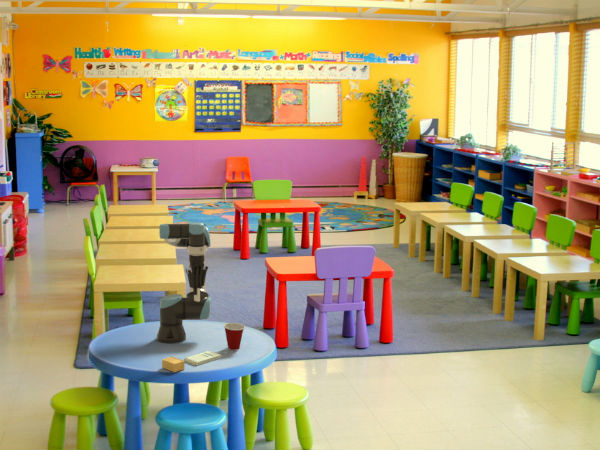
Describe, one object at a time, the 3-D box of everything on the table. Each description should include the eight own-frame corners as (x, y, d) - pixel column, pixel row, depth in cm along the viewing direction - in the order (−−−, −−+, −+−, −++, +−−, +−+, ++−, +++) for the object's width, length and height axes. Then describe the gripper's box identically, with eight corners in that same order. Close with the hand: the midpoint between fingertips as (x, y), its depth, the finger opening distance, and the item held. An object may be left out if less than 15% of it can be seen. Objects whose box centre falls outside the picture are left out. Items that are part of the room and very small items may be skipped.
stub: (162, 367, 382) (162, 359, 382) (172, 364, 387) (172, 356, 386) (174, 372, 377) (174, 363, 376) (184, 368, 381) (184, 360, 380)
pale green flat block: (184, 361, 392) (184, 358, 392) (208, 353, 404) (208, 350, 404) (196, 365, 387) (196, 362, 386) (221, 357, 398) (221, 354, 398)
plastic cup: (241, 352, 407) (241, 329, 405) (221, 350, 409) (221, 327, 407) (247, 345, 417) (247, 323, 415) (227, 344, 420) (227, 321, 417)
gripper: (191, 257, 391) (192, 304, 395) (211, 253, 400) (212, 299, 404) (181, 255, 396) (182, 301, 400) (201, 251, 405) (201, 297, 409)
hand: (197, 300), depth 402 cm, fingers closed
